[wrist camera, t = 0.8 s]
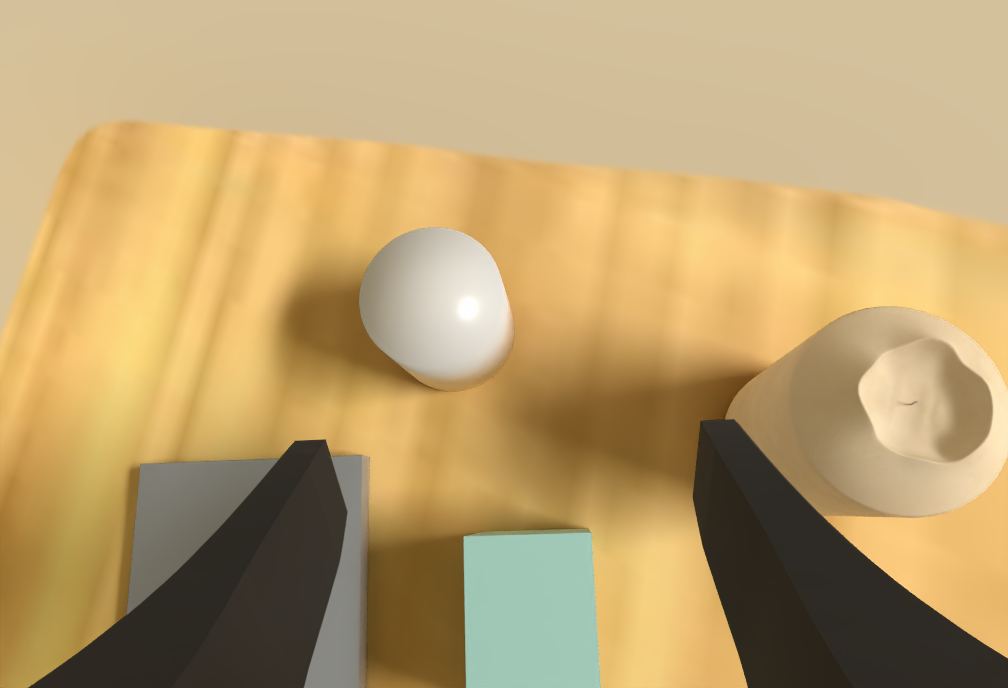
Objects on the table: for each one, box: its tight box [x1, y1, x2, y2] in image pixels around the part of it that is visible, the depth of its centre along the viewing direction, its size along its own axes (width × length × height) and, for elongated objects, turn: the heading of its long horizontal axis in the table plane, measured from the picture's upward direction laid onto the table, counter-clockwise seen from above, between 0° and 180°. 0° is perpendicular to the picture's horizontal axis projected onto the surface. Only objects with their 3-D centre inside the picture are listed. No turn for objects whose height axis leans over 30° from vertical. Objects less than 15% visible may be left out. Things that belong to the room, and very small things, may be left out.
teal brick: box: [464, 528, 601, 688], centre depth 23 cm, size 6×4×5 cm, turn 2°
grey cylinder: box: [359, 227, 515, 391], centre depth 26 cm, size 5×5×5 cm
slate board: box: [126, 455, 370, 688], centre depth 26 cm, size 12×9×1 cm
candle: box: [725, 307, 1008, 518], centre depth 21 cm, size 6×6×10 cm
